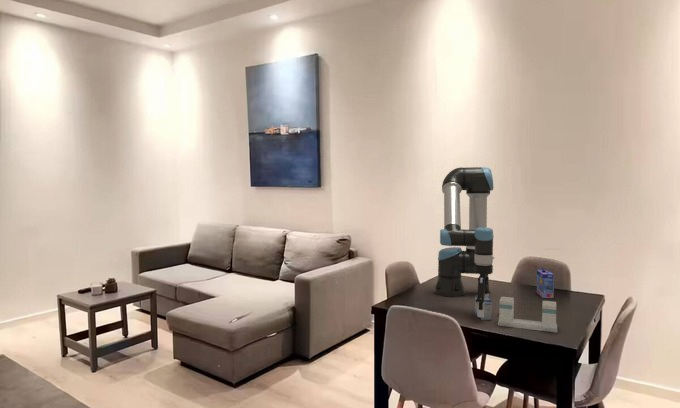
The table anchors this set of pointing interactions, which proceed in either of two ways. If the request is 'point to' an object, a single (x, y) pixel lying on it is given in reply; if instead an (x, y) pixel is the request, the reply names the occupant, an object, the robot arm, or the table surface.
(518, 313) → the table surface
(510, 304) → the white u-shaped block
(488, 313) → the medicine box
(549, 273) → the ink cartridge box
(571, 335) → the table surface
